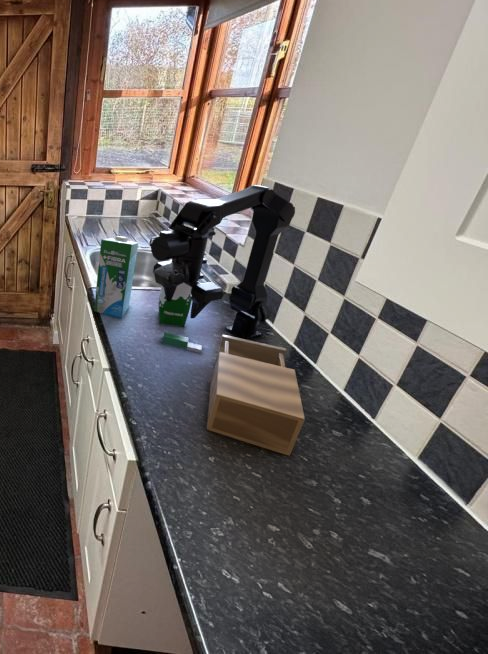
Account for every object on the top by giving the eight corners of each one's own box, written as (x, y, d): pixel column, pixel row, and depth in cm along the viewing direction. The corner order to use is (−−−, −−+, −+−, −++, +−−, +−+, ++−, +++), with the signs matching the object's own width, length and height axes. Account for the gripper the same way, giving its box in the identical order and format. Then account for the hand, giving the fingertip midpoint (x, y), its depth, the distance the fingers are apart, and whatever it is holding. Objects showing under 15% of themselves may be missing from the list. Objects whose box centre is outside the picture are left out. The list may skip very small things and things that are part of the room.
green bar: (161, 343, 115) (163, 336, 114) (163, 339, 117) (164, 332, 116) (200, 353, 110) (202, 345, 109) (201, 348, 112) (203, 341, 111)
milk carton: (129, 306, 134) (139, 235, 124) (121, 318, 128) (131, 244, 117) (102, 300, 139) (110, 230, 128) (93, 311, 132) (101, 239, 121)
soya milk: (156, 324, 124) (167, 265, 115) (155, 310, 131) (165, 253, 123) (187, 329, 121) (201, 268, 113) (184, 314, 129) (197, 256, 120)
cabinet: (210, 384, 99) (219, 351, 95) (282, 403, 92) (294, 369, 88) (206, 429, 86) (216, 394, 82) (289, 456, 79) (305, 419, 75)
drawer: (216, 356, 107) (222, 332, 104) (276, 371, 101) (285, 345, 98) (213, 395, 94) (220, 367, 91) (282, 414, 88) (292, 386, 85)
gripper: (139, 245, 105) (132, 298, 111) (190, 273, 88) (177, 333, 95) (176, 240, 107) (166, 292, 114) (231, 266, 91) (217, 325, 98)
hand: (180, 309), depth 105 cm, fingers open, 9 cm apart
